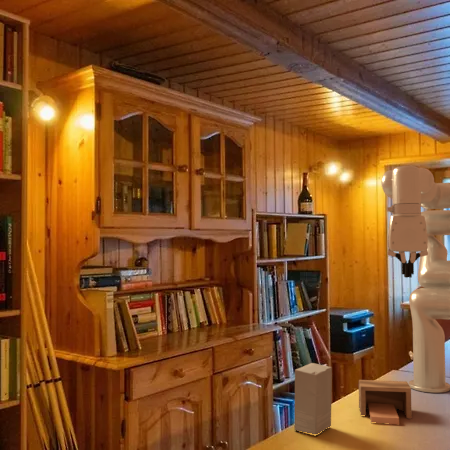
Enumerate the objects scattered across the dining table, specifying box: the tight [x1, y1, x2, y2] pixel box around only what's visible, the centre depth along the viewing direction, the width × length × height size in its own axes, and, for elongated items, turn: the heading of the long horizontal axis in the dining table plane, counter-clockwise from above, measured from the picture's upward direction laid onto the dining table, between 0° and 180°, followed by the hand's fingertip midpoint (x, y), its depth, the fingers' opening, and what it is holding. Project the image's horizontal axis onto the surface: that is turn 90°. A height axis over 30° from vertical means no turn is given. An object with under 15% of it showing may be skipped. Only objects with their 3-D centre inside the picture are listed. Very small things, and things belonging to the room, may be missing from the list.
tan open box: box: [358, 379, 412, 419], centre depth 151 cm, size 8×13×8 cm, turn 80°
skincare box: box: [293, 362, 333, 434], centre depth 138 cm, size 8×7×16 cm
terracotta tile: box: [367, 403, 400, 425], centre depth 148 cm, size 12×7×2 cm, turn 169°
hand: (407, 277), depth 152 cm, fingers closed
